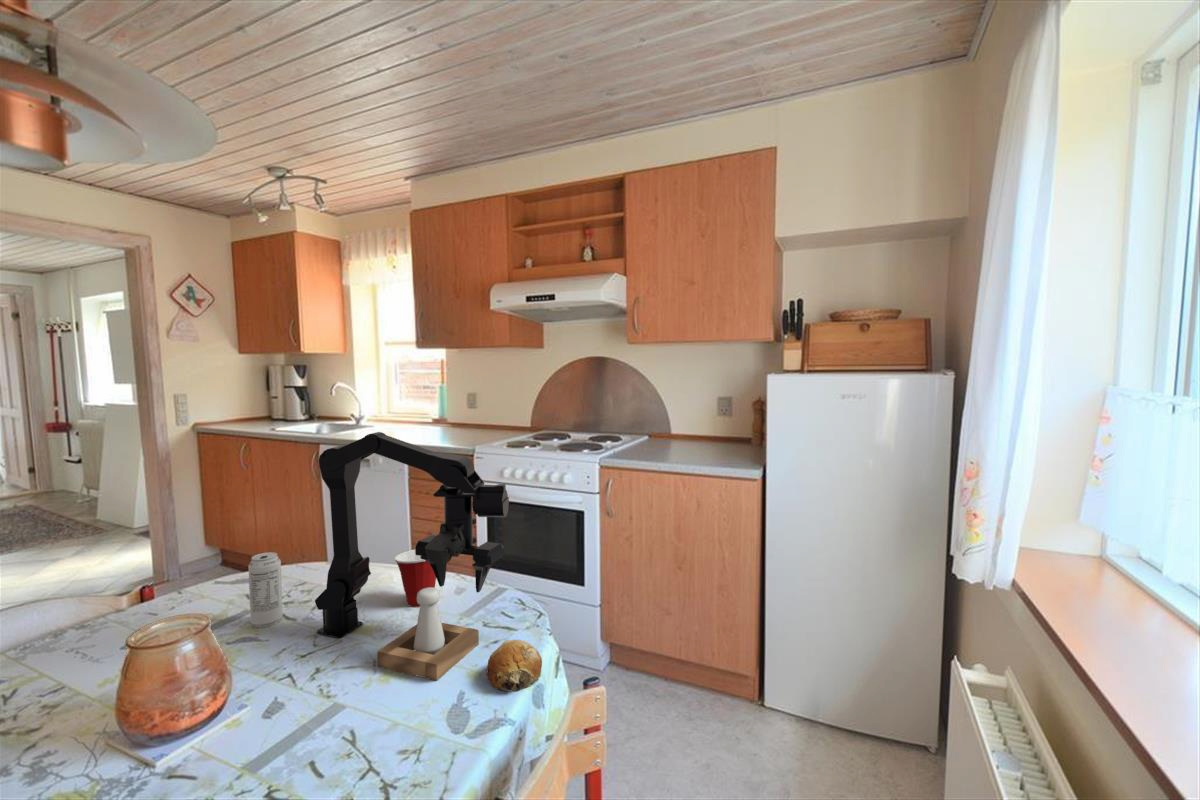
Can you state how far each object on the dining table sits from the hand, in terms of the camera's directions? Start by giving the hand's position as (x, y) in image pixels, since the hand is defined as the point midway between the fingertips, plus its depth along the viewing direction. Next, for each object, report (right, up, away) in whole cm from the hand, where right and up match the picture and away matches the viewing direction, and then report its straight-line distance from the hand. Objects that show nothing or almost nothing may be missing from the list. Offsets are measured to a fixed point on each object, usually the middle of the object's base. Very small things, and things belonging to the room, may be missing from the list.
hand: (460, 588), depth 111 cm
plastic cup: (-14, -9, +15) cm, 22 cm away
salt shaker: (-4, -10, -9) cm, 14 cm away
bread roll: (+14, -10, -16) cm, 24 cm away
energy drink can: (-44, -9, +5) cm, 45 cm away
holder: (-3, -10, -9) cm, 14 cm away
